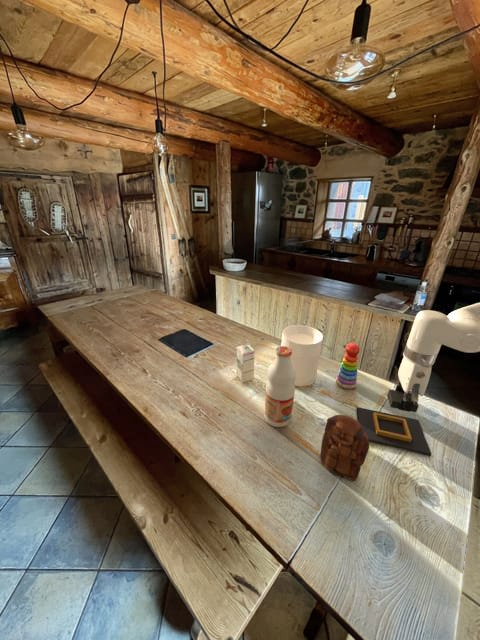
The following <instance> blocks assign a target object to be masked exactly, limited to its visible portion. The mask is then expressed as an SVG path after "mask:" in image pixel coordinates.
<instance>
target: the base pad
mask: <svg viewBox="0 0 480 640" xmlns="http://www.w3.org/2000/svg"><path fill="white" fill-rule="evenodd" d="M356 420H357V421H358V422H359V423H360V425H361V426H362V428H363V429H364V432H365V433H366V435H367V437H368V439H369V443H373V444H376V445H377V444H378V445H382V446H386V447H391V448H394V449H398V450H403V451H406V452H411V453H415V454H419V455H424V456H428V457H432V451H431V449H430V446H429V443H428V441H427V438H426V436H425V433H424V431H423V428H422V425H421V422H420V420H419V419H417V418H412V417H406V416H402V415H399V414H393V413H388V412H384V411H378V410H373V409H369V408H364V407H359V406H356Z"/></svg>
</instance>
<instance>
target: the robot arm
mask: <svg viewBox="0 0 480 640" xmlns="http://www.w3.org/2000/svg"><path fill="white" fill-rule="evenodd" d="M410 329H411V330H410V333H409V335H408V339H407V340H406V341H407V342H406V343H405V347H404V350H403V353H402V355H403V358H402V360H401V363H400V366H399V368H398V372H397V376H398V380H397V383H396V386H395V389H394V390H396V391H401V392H404V396H403V398H401V401H400V404H399V407H398V409H397V410H399V411H403V412H408V413H409V412H411V408H412V406H413V403H415V402H417V403H418V402H419V396H420V397H423V396H425V393H426V390H427V387H428V385H429V381H430V378H431V374H432V368H433V365H434V364H435V363H436V360H437V357H438V354H439V352H440V350H441V347H442V345H443V346H446V347H448V348H451V349H452V350H453V349H454V350H455V351H456V350H457V351H459V352H463V353H471V354H472V353H478V352H479V353H480V302H476V303H473V304H471V305H467V306H464V307H461V308H458V309H456V310H453V311H451V312H450V313H448V315H446V314H444V313H442V312H440V311H436V310H432V309H431V310H430V309H425V310H424V309H423V310H420V311H419V312H417V313H416V315H415V317H414V321H413V324H412V327H411V328H410ZM408 394H412V396H411V397H407V395H408Z"/></svg>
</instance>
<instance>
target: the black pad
mask: <svg viewBox="0 0 480 640" xmlns="http://www.w3.org/2000/svg"><path fill="white" fill-rule="evenodd" d="M403 396H404V392H401V391H396V390H395V389H388V392H387V394H386V397H387V400H388V403H389V407H390V408H392V409H397V410H399V409H398V407H399V404H400V401H401V398H403ZM411 396H412V394H408V395H407V397H411ZM418 409H419V403H418V402H415V403H413V406H412V408H411V411H410V412H412V413H417V412H418Z"/></svg>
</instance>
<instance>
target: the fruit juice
mask: <svg viewBox="0 0 480 640" xmlns="http://www.w3.org/2000/svg"><path fill="white" fill-rule="evenodd" d="M291 356H292V350H291V348H289V347H286V346H281V345H279V346H277V347H276V349H275V359H274V361H273V362H272V363H271V364H270V365H269V366H268V367H267V378H268V379H267V381H266V384H265V395H264V396H265V398H264V410H263V411H264V412H263V416H264V417H263V418H264V419H265V421H266V422H267V424H268V425H270V426H272V427H276V428H283V427H285V426H287V425H289V424H290V422H291V420H292V415H293V406H294V398H295V393H296V386H295V385H294V381H295V379H296V370H295V368H294V367H293V365H292V363H291V360H290V357H291Z"/></svg>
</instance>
